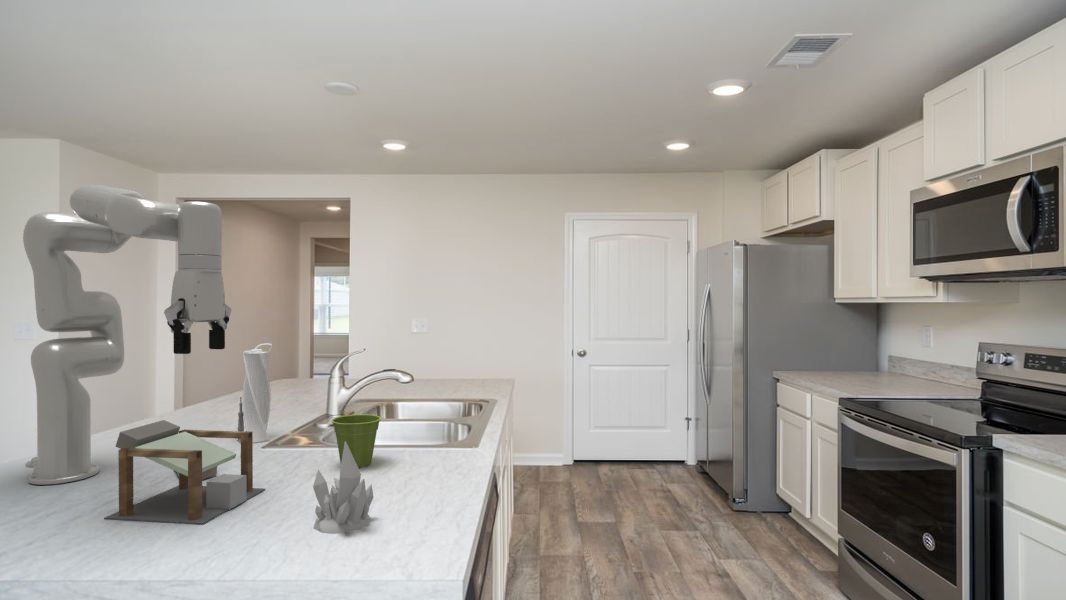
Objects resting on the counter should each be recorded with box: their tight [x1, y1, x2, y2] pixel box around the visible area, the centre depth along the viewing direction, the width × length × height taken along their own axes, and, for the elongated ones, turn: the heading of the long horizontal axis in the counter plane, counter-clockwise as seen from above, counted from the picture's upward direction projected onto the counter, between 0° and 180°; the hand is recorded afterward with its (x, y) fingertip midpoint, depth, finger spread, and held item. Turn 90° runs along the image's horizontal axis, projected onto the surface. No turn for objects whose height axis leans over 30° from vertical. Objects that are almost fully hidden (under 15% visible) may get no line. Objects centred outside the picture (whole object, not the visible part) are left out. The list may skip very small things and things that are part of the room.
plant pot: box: [330, 413, 382, 469], centre depth 142 cm, size 12×12×11 cm
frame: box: [117, 429, 254, 520], centre depth 115 cm, size 16×17×13 cm
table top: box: [103, 484, 266, 526], centre depth 115 cm, size 20×19×1 cm
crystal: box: [312, 441, 374, 535], centre depth 106 cm, size 10×13×15 cm
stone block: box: [205, 473, 248, 510], centre depth 114 cm, size 5×5×5 cm
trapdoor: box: [115, 419, 237, 476], centre depth 116 cm, size 17×13×3 cm
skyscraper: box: [236, 342, 273, 444], centre depth 166 cm, size 8×8×28 cm
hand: (200, 351), depth 115 cm, fingers open, 9 cm apart
